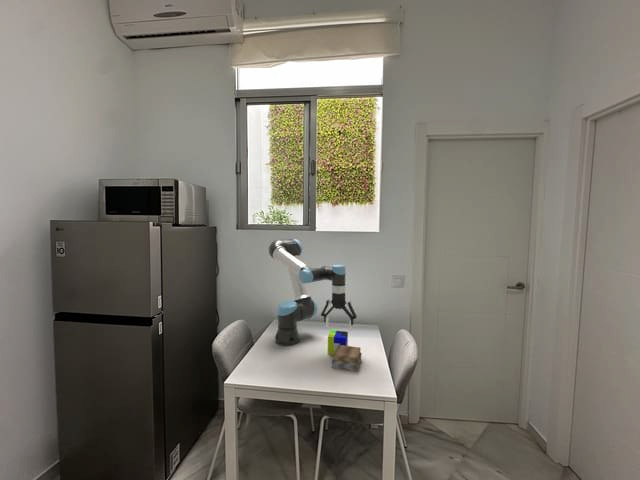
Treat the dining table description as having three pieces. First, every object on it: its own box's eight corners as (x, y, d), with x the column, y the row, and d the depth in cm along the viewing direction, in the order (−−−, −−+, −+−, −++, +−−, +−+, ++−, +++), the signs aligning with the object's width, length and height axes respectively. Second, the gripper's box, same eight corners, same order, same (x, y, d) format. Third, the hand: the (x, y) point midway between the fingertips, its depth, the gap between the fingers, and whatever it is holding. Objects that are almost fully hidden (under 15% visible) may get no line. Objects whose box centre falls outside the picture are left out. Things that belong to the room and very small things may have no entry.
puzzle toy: (345, 355, 170) (345, 338, 169) (327, 354, 172) (327, 336, 171) (347, 348, 179) (347, 331, 179) (330, 346, 181) (330, 330, 181)
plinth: (332, 367, 156) (332, 354, 155) (337, 356, 168) (337, 344, 168) (357, 371, 152) (357, 358, 152) (361, 359, 165) (361, 347, 164)
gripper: (315, 292, 173) (315, 329, 174) (359, 295, 166) (359, 333, 167) (319, 289, 180) (319, 324, 181) (361, 292, 173) (361, 329, 174)
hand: (338, 329), depth 174 cm, fingers open, 13 cm apart
